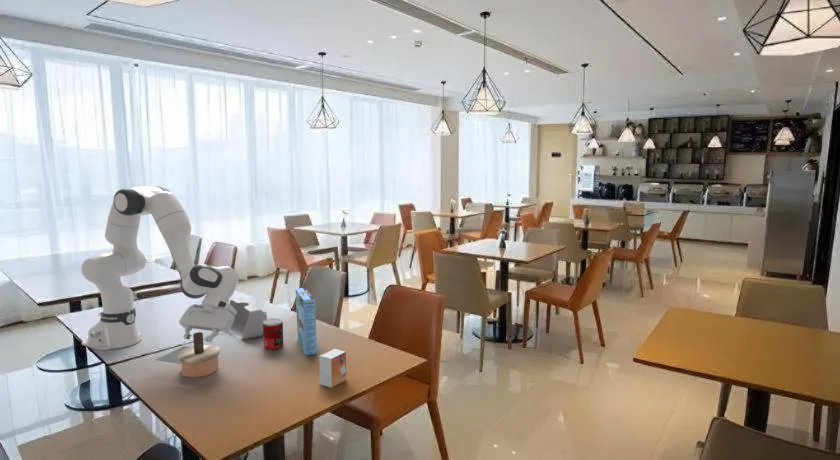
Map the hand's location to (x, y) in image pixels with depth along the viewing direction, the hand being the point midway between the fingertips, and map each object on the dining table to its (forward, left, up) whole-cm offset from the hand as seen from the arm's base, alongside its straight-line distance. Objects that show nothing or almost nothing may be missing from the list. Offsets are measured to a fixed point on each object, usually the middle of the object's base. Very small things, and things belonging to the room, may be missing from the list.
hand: (197, 339), depth 176 cm
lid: (0, +1, -6) cm, 6 cm away
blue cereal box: (+26, +33, -12) cm, 43 cm away
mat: (-15, +11, -12) cm, 22 cm away
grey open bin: (-9, +44, -12) cm, 47 cm away
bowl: (0, +1, -12) cm, 12 cm away
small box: (+51, +6, -12) cm, 53 cm away
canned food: (+13, +29, -12) cm, 34 cm away
